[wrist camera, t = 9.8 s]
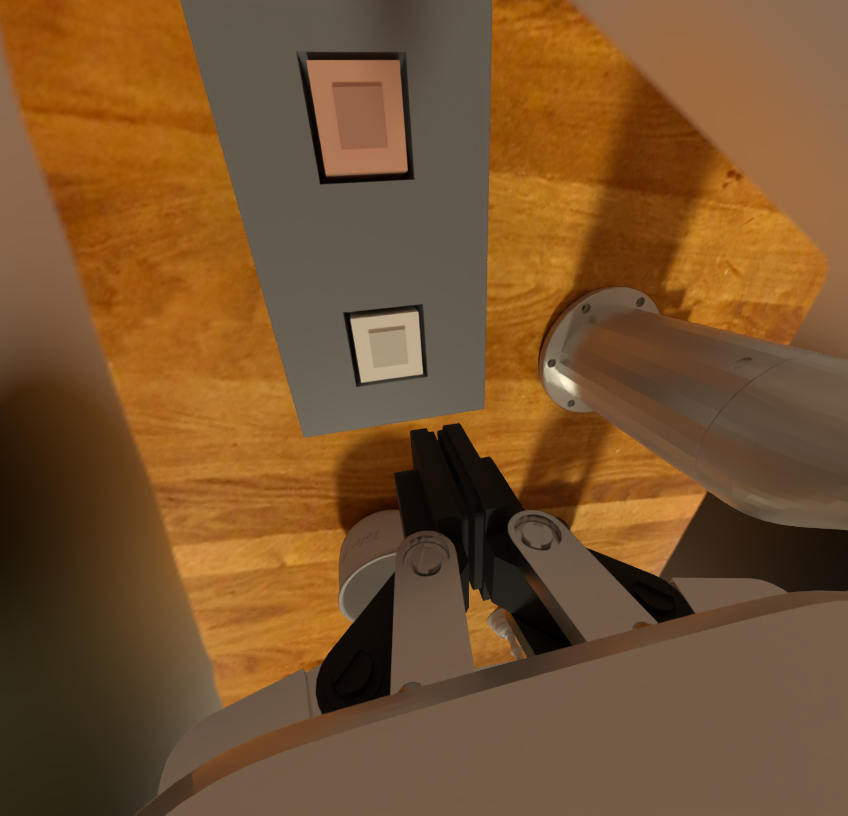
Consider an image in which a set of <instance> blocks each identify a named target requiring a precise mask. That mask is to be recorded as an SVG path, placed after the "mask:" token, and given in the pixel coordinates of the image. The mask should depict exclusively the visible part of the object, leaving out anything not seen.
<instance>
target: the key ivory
mask: <svg viewBox="0 0 848 816" xmlns="http://www.w3.org/2000/svg"><path fill="white" fill-rule="evenodd" d="M350 320H351V326H352V331H353V337H354V343H355V349H356V355H357V361H358V367H359V372H360V378H361V383H363V382H370V381H377V380H384V379H391V378H398V377H406V376H413V375H420V374H423V368H422V355H421V341H420V328H419V314H418V311H417V310H416V309H415V308H414V307H413V306H412V305H408V306H399V307H390V308H381V309H372V310H362V311H353V312H350Z"/></svg>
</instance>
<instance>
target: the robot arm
mask: <svg viewBox="0 0 848 816" xmlns="http://www.w3.org/2000/svg"><path fill="white" fill-rule="evenodd" d="M539 376H540V380H541V383H542V386H543V388H544V390H545V392H546V394H547V395H548V396H549V397H550V398H551V399H552V400H553V401H554V402H555V403H557V404H558V405H559V406H560V407H562V408H564V409H566V410H569V411H573V412H577V413H588V412H594V411H595V412H596V413H598V414H599V415H601V416H602V417H603V418H605V419H606V420H608V421H609V422H611V423H612V424H613V425H615V426H616V427H618V428H619V429H621V430H622V431H623V432H625V433H626V434H628V435H629V436H630V437H632V438H633V439H635V440H636V441H638V442H639V443H640V444H642V445H643V446H645V447H646V448H648V449H649V450H650V451H652V452H653V453H655V454H656V455H658V456H659V457H660V458H662V459H663V460H665V461H666V462H668V463H669V464H670V465H672V466H673V467H675V468H676V469H678V470H679V471H680V472H682V473H683V474H685V475H686V476H688V477H689V478H690V479H692V480H693V481H695V482H696V483H697V484H699V485H700V486H702V487H703V488H705V489H706V490H708V491H710V492H711V493H712V494H714V495H715V496H717V497H718V498H720V499H721V500H722V501H724V502H726V503H727V504H729V505H730V506H732V507H734V508H735V509H737V510H739V511H742V512H744V513H746V514H748V515H751V516H753V517H756V518H759V519H762V520H764V521H769V522H773V523H777V524H783V525H791V526H799V527H812V528H829V529H843V530H848V360H846V359H842V358H838V357H834V356H830V355H825V354H820V353H816V352H812V351H808V350H804V349H800V348H795V347H792V346H788V345H783V344H779V343H775V342H771V341H767V340H763V339H759V338H755V337H750V336H746V335H742V334H738V333H734V332H730V331H726V330H722V329H718V328H713V327H709V326H705V325H701V324H697V323H693V322H689V321H685V320H680V319H676V318H672V317H668V316H664V315H660V313H659V310H658V308H657V307H656V305H655V303H654V302H653V301H652V300H651V299H650V298H649V296H648V295H646V294H644V293H643V292H641V291H639V290H636V289H632V288H628V287H620V286H612V287H604V288H600V289H597V290H594V291H591V292H590V293H588V294H586V295H584V296H582V297H580V298H579V299H578V300H576V301H575V302H574V303H572V304H571V305H570V306H569V307H568V308H567V309H566V310H565V311H564V312H563V313H562V314H561V315H560V316H559V317H558V318H557V320H556V321H555V323H554V324H553V325H552V327H551V328H550V330H549V332H548V334H547V336H546V338H545V340H544V344H543V347H542V350H541V353H540V360H539ZM437 435H438V441H437V438H436V436H435V434H434V432H428V430H427V428H424V429H418V430H411V431H410V436H411V447H412V457H413V468H414V470H408V471H402V472H397V473H394V476H395V484H396V492H397V499H398V506H399V512H400V518H401V524H402V529H403V535H404V540H403V541H402V542H401V544H400V546H399V547H398V549H397V553H396V561H395V572H394V573H393V574H392V575H391V577H390V578H389V579H388V580H387V582H386V583H385V584H384V585H383V587H382V588H381V589H380V590H379V592H378V593H377V594H376V595H375V596H374V598H373V599H372V600H371V601H370V603H369V604H368V605H367V606H366V608H365V609H364V610H363V611H362V613H361V614H360V615H359V616H358V618H357V619H356V620H355V621H354V623H353V624H352V625H351V626H350V627H349V629H348V630H347V631H346V632H345V634H344V635H343V636H342V637H341V639H340V640H339V641H338V642H337V644H336V645H335V646H334V647H333V649H332V650H331V651H330V652H329V654H328V655H327V657H326V658H325V660H324V661H323V663H322V664H321V665H319V666H317V667H315V668H313V669H311V670H309V671H307V672H305V670H304V668H303V669H301V670H299V671H297V672H295V673H293V674H291V675H289V676H287V677H285V678H283V679H281V680H279V681H277V682H275V683H273V684H271V685H269V686H267V687H265V688H263V689H261V690H259V691H257V692H255V693H253V694H251V695H249V696H247V697H245V698H243V699H241V700H239V701H237V702H235V703H233V704H231V705H229V706H227V707H226V708H224V709H222V710H220V711H218V712H216V713H214V714H212V715H210V716H208V717H206V718H204V719H203V720H202V721H200V722H199V723H197V724H196V725H194V726H193V727H191V728H190V730H189V731H188V732H187V733H186V734H185V735H184V736H183V737H182V738H181V740H180V741H179V742H178V743H177V745H176V746H175V748H174V750H173V751H172V753H171V755H170V756H169V758H168V760H167V761H166V765H165V768H164V771H163V774H162V777H161V780H160V785H159V792H158V796H157V797H156V798H155V799H154V800H152V801H151V802H150V803H148V804H147V805H146V806H144V807H143V808H142V809H141V810H140V811H139V812H138V813H137V814H136V815H135V816H848V590H847V591H846V592H838V591H807V592H793V593H787V592H786V591H784V590H783V589H781V588H779V587H777V586H775V585H773V584H770V583H768V582H765V581H762V580H757V579H750V578H749V579H748V578H747V579H746V578H672V579H671V581H670V582H666V581H665V580H663V579H661V578H659V577H657V576H655V575H653V574H651V573H648V572H646V571H643V570H641V569H638V568H636V567H633V566H631V565H628V564H626V563H623V562H621V561H618V560H616V559H613V558H611V557H608V556H606V555H603V554H601V553H598V552H596V551H593V550H591V549H588V548H586V547H584V546H583V545H582V543H581V542H580V541H579V540H578V539H577V538H576V537H575V536H574V535H573V534H572V533H571V532H570V531H569V530H568V529H567V528H566V527H565V526H564V525H563V524H562V523H561V522H560V521H559V520H558V519H556V518H555V517H554V516H552V515H550V514H548V513H545V512H541V511H537V510H526V511H525V510H524V508H523V507H522V505H521V504H520V502H519V501H518V499H517V497H516V496H515V494H514V493H513V491H512V490H511V488H510V486H509V485H508V483H507V482H506V480H505V479H504V477H503V475H502V474H501V472H500V471H499V469H498V468H497V466H496V464H495V463H494V461H493V460H492V459H491V458H490V457H484V458H480V457H479V455H478V453H477V452H476V450H475V448H474V447H473V445H472V443H471V442H470V440H469V438H468V436H467V435H466V433H465V431H464V430H463V428H462V426H461V425H460V423H457V424H450V425H444V426H443V430H439V431H438V433H437ZM469 581H470V584H471V587H472V589H473V590H476V589H479V591H480V594H481V596H482V599H483V601H484V600H488V599H491V601H492V602H493V603H494V604H496V605H498V606H500V607H502V612H503V614H504V617H505V619H506V621H507V623H508V624H509V626H510V628H511V630H512V631H513V633H514V635H515V637H516V638H517V640H518V642H519V644H520V646H521V647H522V649H523V651H524V653H525V654H526V656H527V658H525V659H521V660H518V661H514V662H510V663H506V664H503V665H499V666H495V667H491V668H488V669H484V670H480V671H477V672H474V666H473V659H472V652H471V646H470V639H469V633H468V626H467V620H466V612H467V610H468V608H469Z"/></svg>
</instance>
